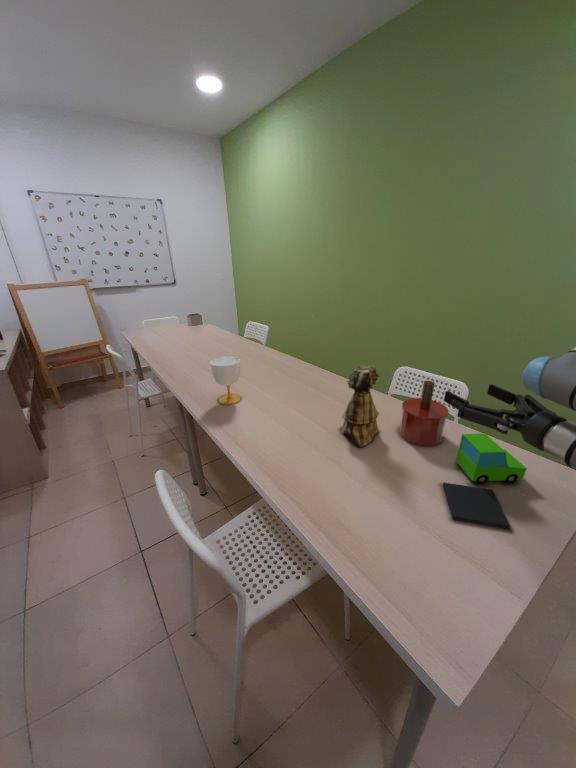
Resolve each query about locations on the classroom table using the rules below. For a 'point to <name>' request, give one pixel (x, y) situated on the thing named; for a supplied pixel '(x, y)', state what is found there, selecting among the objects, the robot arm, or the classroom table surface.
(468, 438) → the toy car
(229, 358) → the cup
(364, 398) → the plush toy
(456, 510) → the plate
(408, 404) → the lid
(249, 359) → the classroom table surface
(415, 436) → the pot
